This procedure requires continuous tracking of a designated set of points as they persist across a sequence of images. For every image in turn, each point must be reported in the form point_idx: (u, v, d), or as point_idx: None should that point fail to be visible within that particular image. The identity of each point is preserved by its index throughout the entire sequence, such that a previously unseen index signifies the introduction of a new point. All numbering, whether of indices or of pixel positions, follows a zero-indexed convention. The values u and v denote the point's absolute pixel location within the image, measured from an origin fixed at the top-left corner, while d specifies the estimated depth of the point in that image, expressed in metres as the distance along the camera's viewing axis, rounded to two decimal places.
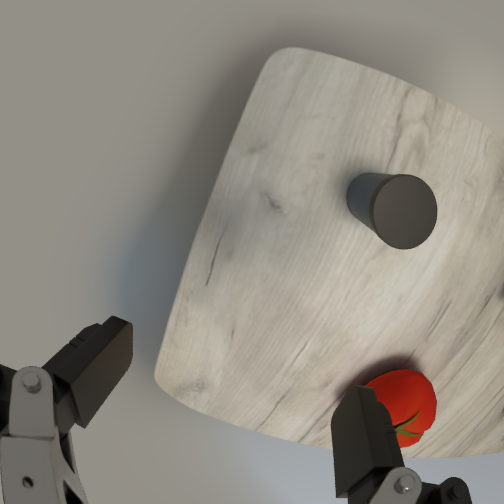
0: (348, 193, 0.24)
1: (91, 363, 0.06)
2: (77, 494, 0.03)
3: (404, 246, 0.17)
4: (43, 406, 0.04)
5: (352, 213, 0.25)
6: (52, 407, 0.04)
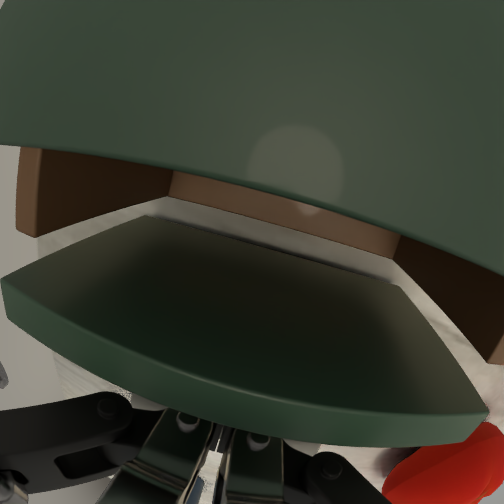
0: None
1: None
2: None
3: None
4: (191, 449, 0.05)
5: None
6: (201, 453, 0.05)
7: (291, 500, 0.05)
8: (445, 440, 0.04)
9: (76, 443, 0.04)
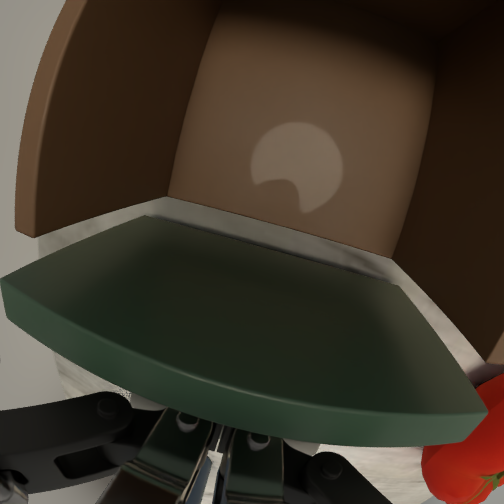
0: None
1: None
2: None
3: None
4: (190, 448, 0.05)
5: None
6: (200, 453, 0.05)
7: (291, 500, 0.05)
8: (444, 440, 0.04)
9: (76, 443, 0.04)
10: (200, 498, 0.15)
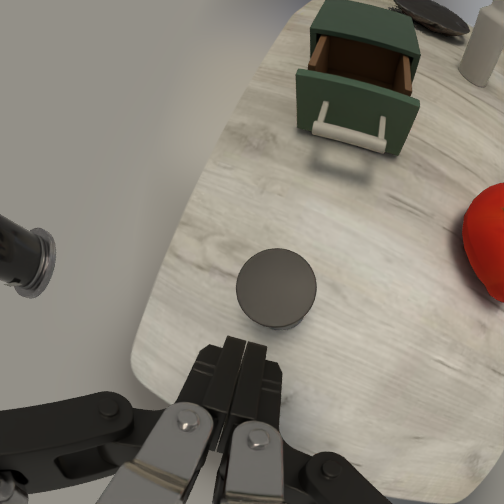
0: None
1: (234, 387, 0.07)
2: None
3: (313, 287, 0.17)
4: (191, 449, 0.05)
5: None
6: (201, 453, 0.05)
7: (291, 500, 0.05)
8: (410, 102, 0.20)
9: (76, 443, 0.04)
10: None
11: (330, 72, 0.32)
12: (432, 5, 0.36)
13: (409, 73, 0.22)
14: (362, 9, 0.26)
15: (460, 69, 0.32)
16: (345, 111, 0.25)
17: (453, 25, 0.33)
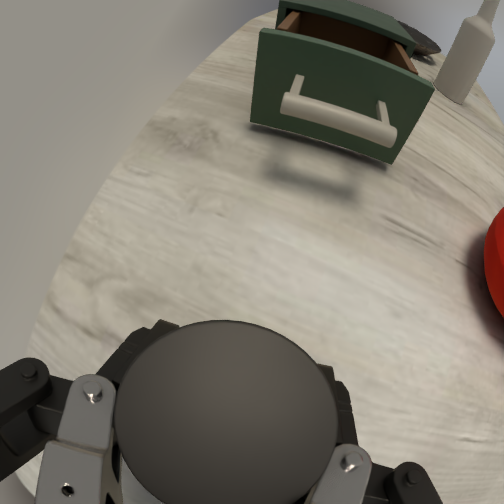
0: None
1: None
2: None
3: (329, 423, 0.05)
4: (101, 417, 0.05)
5: None
6: (111, 419, 0.05)
7: None
8: (423, 82, 0.13)
9: (10, 408, 0.04)
10: None
11: None
12: (402, 25, 0.44)
13: (408, 57, 0.16)
14: (339, 1, 0.22)
15: (436, 84, 0.34)
16: (327, 92, 0.17)
17: (425, 43, 0.39)
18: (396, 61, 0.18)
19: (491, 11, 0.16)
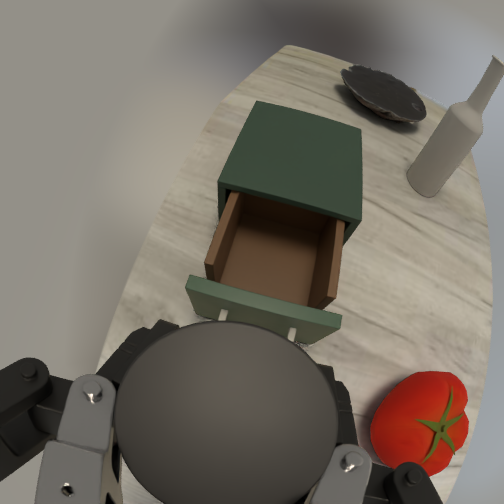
0: None
1: None
2: None
3: (329, 423, 0.05)
4: (101, 417, 0.05)
5: None
6: (111, 420, 0.05)
7: None
8: (329, 324, 0.21)
9: (10, 408, 0.04)
10: None
11: (244, 221, 0.33)
12: (387, 80, 0.51)
13: (340, 258, 0.23)
14: (297, 126, 0.29)
15: (409, 177, 0.41)
16: (248, 318, 0.24)
17: (408, 110, 0.46)
18: (329, 255, 0.25)
19: (485, 99, 0.23)
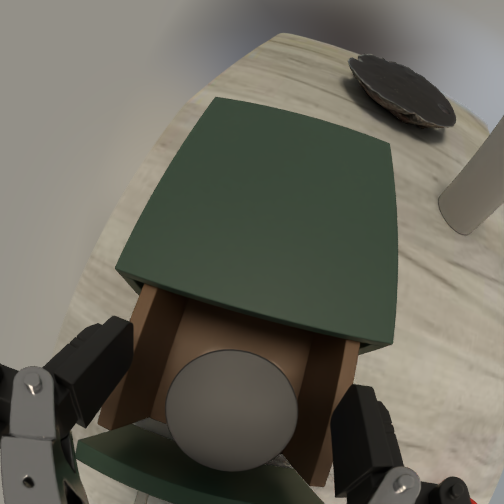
0: None
1: (92, 363, 0.06)
2: (78, 494, 0.03)
3: (292, 411, 0.09)
4: (44, 406, 0.04)
5: None
6: (53, 407, 0.04)
7: None
8: None
9: None
10: None
11: (193, 302, 0.20)
12: (405, 74, 0.38)
13: None
14: (282, 139, 0.17)
15: (442, 207, 0.29)
16: None
17: (435, 113, 0.33)
18: (325, 404, 0.12)
19: None
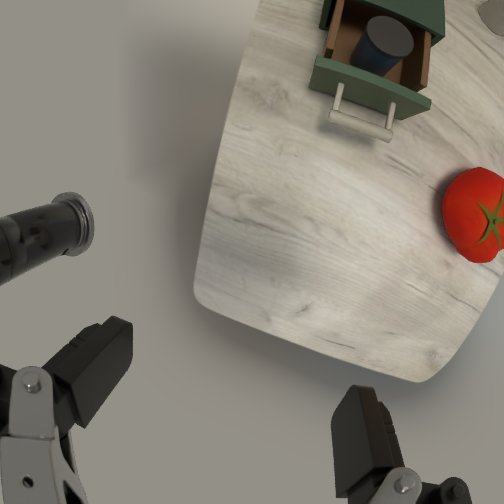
0: None
1: (91, 363, 0.06)
2: (77, 494, 0.03)
3: (411, 39, 0.17)
4: (43, 406, 0.04)
5: (382, 76, 0.26)
6: (52, 407, 0.04)
7: None
8: (422, 104, 0.21)
9: None
10: None
11: (341, 18, 0.25)
12: None
13: (428, 59, 0.19)
14: None
15: (480, 12, 0.19)
16: (358, 91, 0.25)
17: None
18: (420, 55, 0.20)
19: None
